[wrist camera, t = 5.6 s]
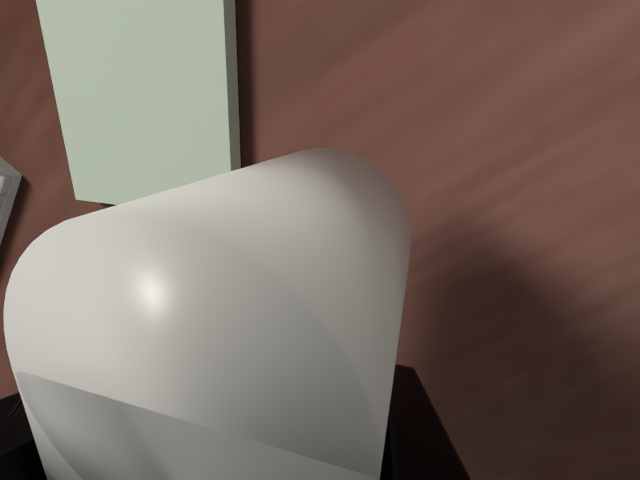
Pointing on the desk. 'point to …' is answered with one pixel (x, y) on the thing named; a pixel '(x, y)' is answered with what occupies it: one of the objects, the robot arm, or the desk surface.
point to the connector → (217, 327)
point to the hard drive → (7, 192)
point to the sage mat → (143, 92)
